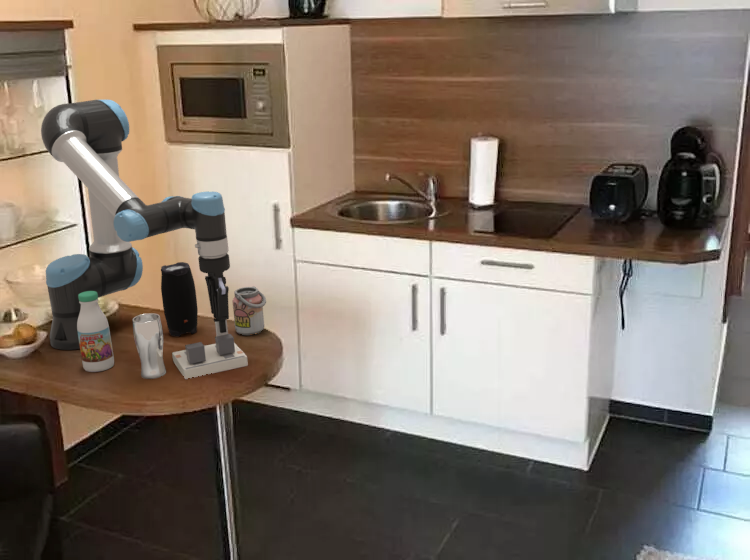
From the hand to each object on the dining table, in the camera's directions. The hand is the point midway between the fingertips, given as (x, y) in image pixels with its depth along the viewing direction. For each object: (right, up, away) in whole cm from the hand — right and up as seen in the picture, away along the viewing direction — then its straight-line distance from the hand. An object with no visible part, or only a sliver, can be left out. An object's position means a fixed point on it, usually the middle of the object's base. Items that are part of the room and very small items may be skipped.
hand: (223, 342), depth 214 cm
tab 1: (-6, -4, -6) cm, 9 cm away
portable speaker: (-15, +1, +22) cm, 27 cm away
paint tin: (+4, +2, +20) cm, 21 cm away
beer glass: (-16, -8, -6) cm, 19 cm away
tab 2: (+1, -2, -1) cm, 3 cm away
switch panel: (-3, -5, -1) cm, 6 cm away
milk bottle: (-32, -6, 0) cm, 33 cm away
